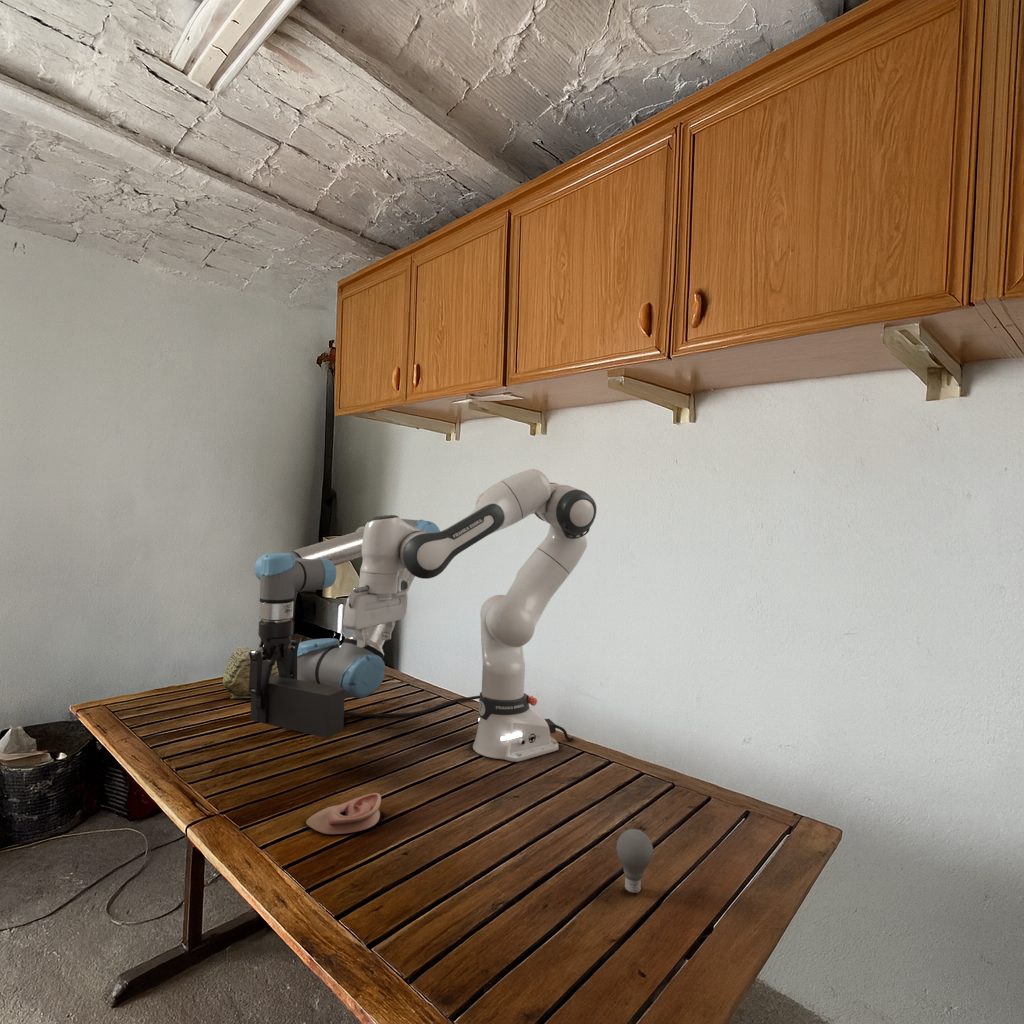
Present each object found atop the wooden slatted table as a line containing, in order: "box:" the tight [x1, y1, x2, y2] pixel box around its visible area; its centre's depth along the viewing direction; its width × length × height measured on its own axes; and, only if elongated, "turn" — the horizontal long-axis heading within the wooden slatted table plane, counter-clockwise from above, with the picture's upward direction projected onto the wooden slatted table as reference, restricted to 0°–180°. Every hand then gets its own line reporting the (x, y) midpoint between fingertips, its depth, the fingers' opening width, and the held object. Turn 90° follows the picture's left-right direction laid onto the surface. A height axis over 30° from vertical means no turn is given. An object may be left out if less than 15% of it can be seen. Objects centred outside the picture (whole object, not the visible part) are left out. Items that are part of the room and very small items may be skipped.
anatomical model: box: [305, 792, 382, 835], centre depth 124 cm, size 13×4×12 cm
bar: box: [249, 675, 346, 739], centre depth 146 cm, size 23×6×10 cm, turn 66°
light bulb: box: [615, 828, 654, 894], centre depth 106 cm, size 6×6×10 cm
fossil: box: [222, 646, 279, 699], centre depth 198 cm, size 9×18×15 cm, turn 132°
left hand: (272, 717), depth 149 cm, fingers closed on bar, 5 cm apart
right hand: (374, 643), depth 148 cm, fingers open, 8 cm apart
